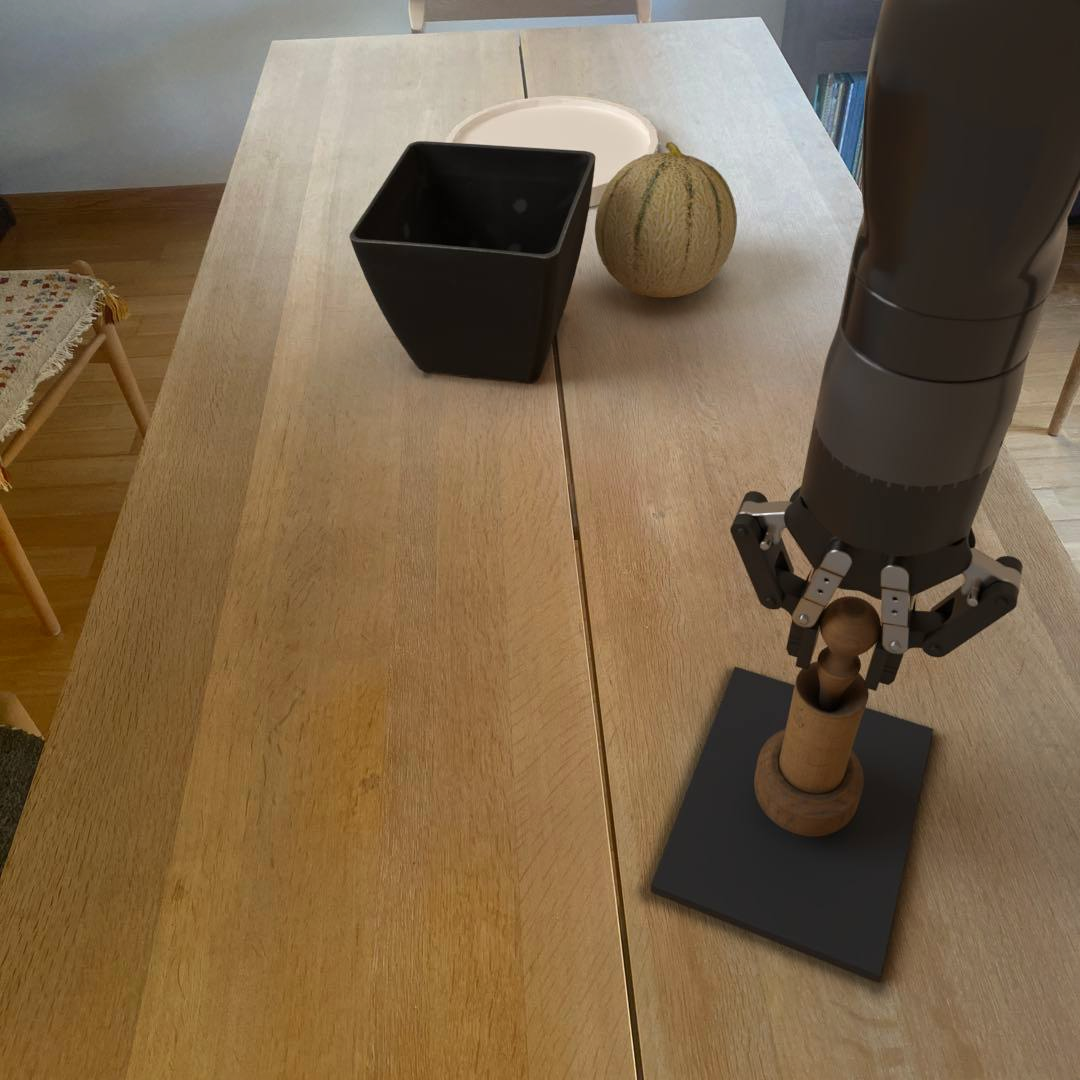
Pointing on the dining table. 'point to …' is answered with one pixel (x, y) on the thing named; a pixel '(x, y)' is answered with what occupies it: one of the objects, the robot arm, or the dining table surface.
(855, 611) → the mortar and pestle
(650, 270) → the cantaloupe
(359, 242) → the flower pot
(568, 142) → the plate
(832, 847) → the mat
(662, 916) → the dining table surface
